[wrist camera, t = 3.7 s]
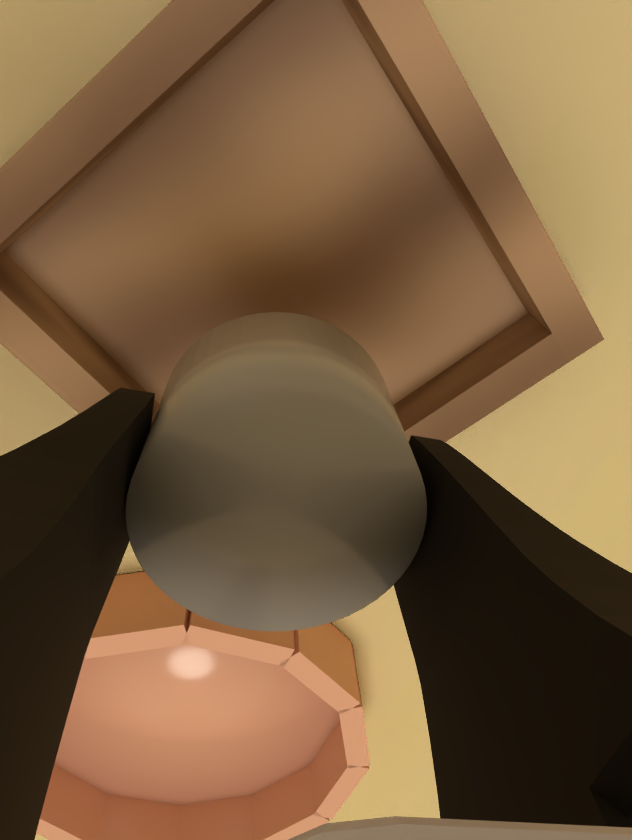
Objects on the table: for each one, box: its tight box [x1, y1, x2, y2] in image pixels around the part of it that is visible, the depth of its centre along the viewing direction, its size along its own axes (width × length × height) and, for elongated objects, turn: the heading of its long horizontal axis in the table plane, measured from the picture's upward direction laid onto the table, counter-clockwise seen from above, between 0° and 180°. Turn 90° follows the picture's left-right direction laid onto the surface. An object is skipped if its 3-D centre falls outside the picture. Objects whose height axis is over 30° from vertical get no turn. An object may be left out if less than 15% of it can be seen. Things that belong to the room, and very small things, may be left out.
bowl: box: [36, 571, 370, 840], centre depth 27 cm, size 16×16×3 cm
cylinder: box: [125, 312, 427, 631], centre depth 11 cm, size 5×5×4 cm
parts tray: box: [0, 0, 604, 442], centre depth 18 cm, size 14×14×2 cm
